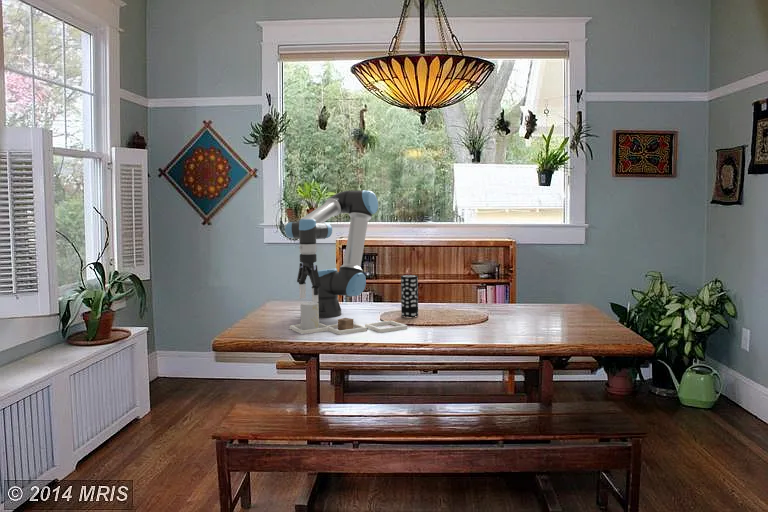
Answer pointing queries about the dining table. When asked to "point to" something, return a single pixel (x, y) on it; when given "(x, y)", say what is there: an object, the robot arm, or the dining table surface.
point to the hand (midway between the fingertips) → (308, 300)
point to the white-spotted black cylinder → (409, 295)
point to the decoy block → (345, 324)
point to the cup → (309, 315)
